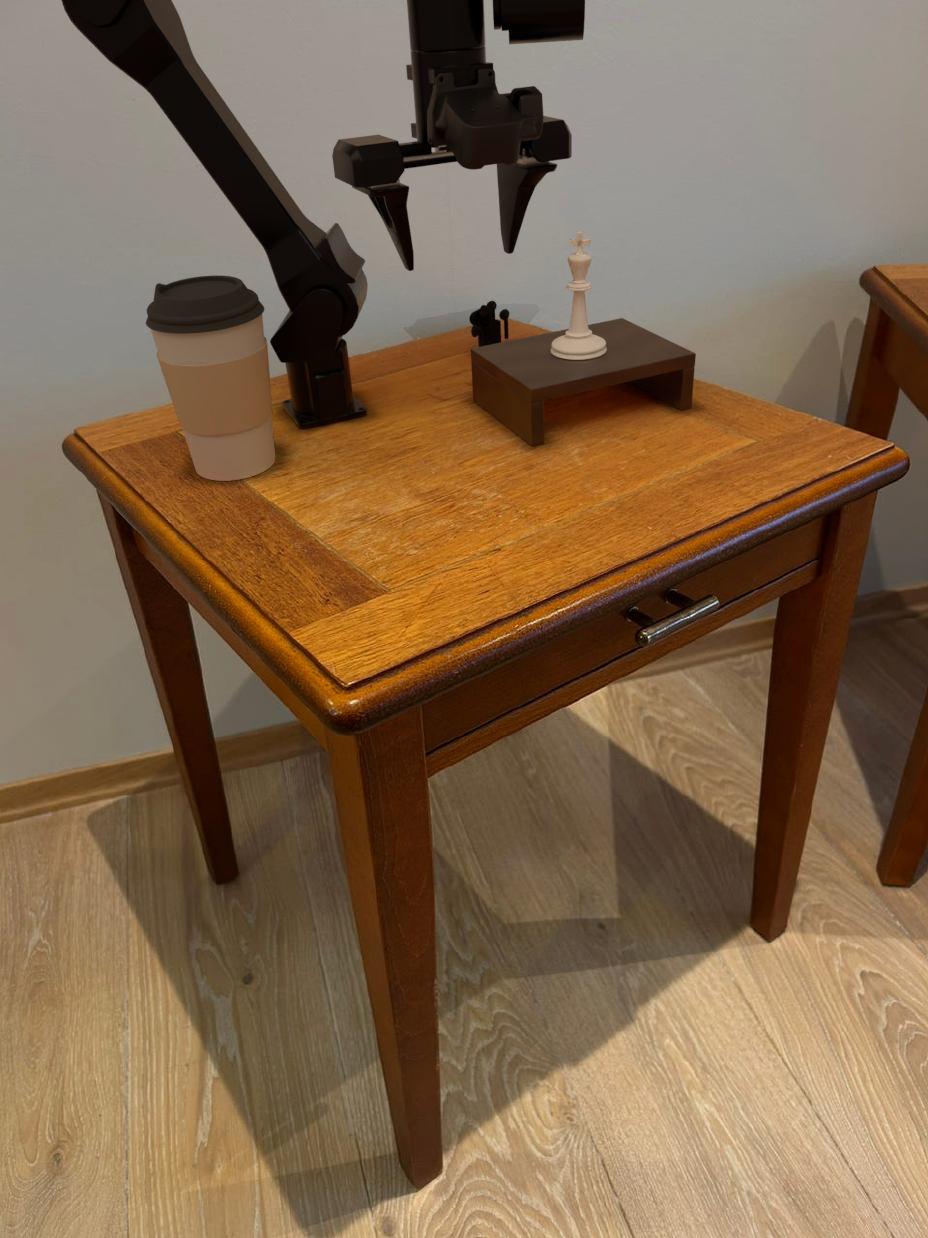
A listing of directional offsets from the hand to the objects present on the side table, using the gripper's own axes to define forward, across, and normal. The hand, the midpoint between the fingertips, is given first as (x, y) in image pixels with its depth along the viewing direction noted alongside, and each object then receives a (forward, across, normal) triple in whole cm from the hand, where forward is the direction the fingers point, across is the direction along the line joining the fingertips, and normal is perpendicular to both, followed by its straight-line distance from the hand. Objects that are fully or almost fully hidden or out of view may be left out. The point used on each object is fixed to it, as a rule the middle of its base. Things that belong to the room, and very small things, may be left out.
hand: (459, 261), depth 82 cm
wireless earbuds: (+13, +8, +13) cm, 20 cm away
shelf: (+13, +9, -5) cm, 17 cm away
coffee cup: (+13, -22, -1) cm, 26 cm away
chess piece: (+8, +9, -5) cm, 13 cm away
